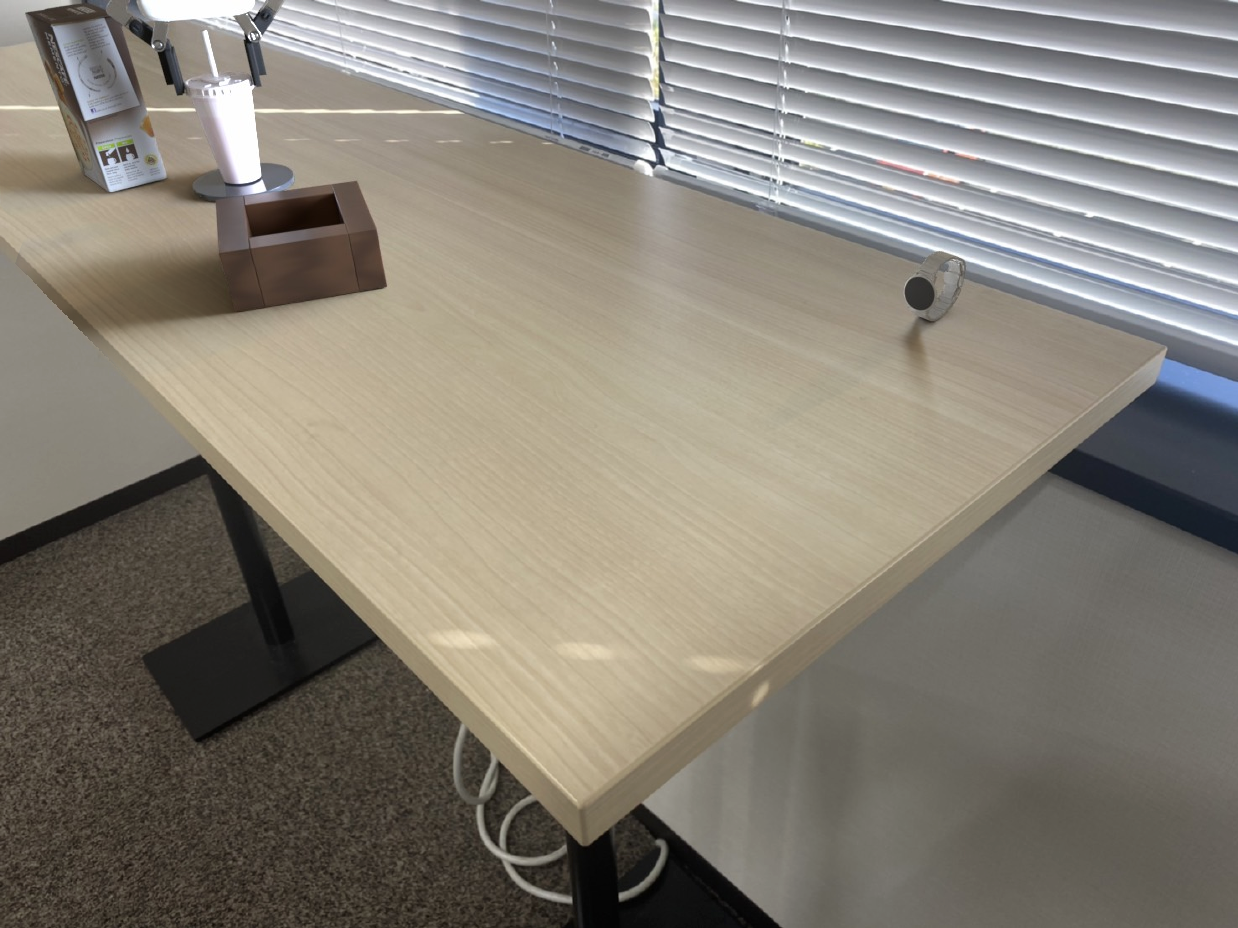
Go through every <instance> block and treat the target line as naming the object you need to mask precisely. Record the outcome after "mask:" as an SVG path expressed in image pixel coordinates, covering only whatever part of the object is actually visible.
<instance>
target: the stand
mask: <svg viewBox="0 0 1238 928" xmlns="http://www.w3.org/2000/svg"><path fill="white" fill-rule="evenodd" d="M369 208H370V207H369V206H368V203H367V201H366V198H365V196H364V194H363V191H362V189H361V186H360V183H359V181H358V180H351V181H344V182H337V183H332V184H330V183H329V184H323V185H316V186H307V187H302V188H293V189H286V190H284V191H278V192H270V193H263V194H256V195H248V196H244V197H243V196H242V197H235V198H227V199H220V200H216V202H215V215H216V230H217V231H216V232H217V247H218V256H219V260H220V263H221V267H222V271H223V274H224V278H225V282H226V285H227V289H228V292H229V296H230V299H231V302H232V307H233V310H234V312H235V313H239V312H244V311H251V310H257V309H263V308H270V307H277V306H281V305H287V304H294V303H301V302H305V301H306V302H307V301H311V300H318V299H325V298H330V297H336V296H341V295H348V294H353V293H359V292H365V291H371V290H376V289H383V288H388V282H387V276H386V270H385V265H384V260H383V254H382V249H381V242H380V237H379V231H378V228H377V226H376V223H375V220H374V218H373V216H372V214H371V211H370V209H369Z"/></svg>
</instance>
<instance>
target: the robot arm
mask: <svg viewBox="0 0 1238 928" xmlns="http://www.w3.org/2000/svg"><path fill="white" fill-rule="evenodd" d="M131 1H132V0H109V1H108V3H107V5H106V7H105V10H106V12H107V14H108V15H109V16H111V17H112V18H113V19H115V20H116V21H117V22H119V23H120V24H121V26H123V27H125V28H126V29H127V30H128V31H130V33H131V34H133V35H134V36H135V37H137V38H138V39H140V40H142V41H143V42H144V43H146V44H147V45H148V46H150V47H151V48H152V49H153V50H154V51H155V52H157V56H158V59H159V63H160V66H161V70H162V73H163V77H164V81H165V83H166V86H174V90H175V94H176V96H183V95H184V94H186V93H185V92H186V91H185V87H184V82H185V81H184V78H183V74H182V71H181V67H180V64H179V60H178V56H177V52H176V49H175V46H174V45H173V46H172V43H171V40H170V39H169V38H168V35H169V30H170V29H169V28H170V23H171V22H173V21H188V20H198V19H209V18H219V17H220V18H221V17H230V16H232V17H233V18H234V20H235V21H236V22H237V24H238V25H239V27H240V28H241V29H242V32H243V35H244V39H243V44H244V49H245V54H246V57H247V61H248V62H247V63H248V66H249V71H250V75H251V77H252V82H253V84H254V87H255V88H261V87H263V85H262V81H261V77H260V76H267V69H266V66H265V62H264V56H263V52H262V47H261V43H260V42H261V40H262V37H263V36H264V34H265V32H266V31H267V30H268V29H269V27H270V25H271V24H272V23H273V22H274V19H275V17H276V15H277V14H278V12H279V10H280V9H281V7H282V6H283V5H284V3H285V1H286V0H265V1H264V3H263V4H262V6H261V7H260V9H259V10H258V11H257V13H256V14H255V15H254V17H253V16H252V15H251V14H250V11H251V10H252V9H253V8H254V6H255V3H256V0H135V2H136V5H137V7H138V10H139V12H140V13H141V15H142V16H143V17H144V18H146V19H148V20H150V21H154V23H153V27H152V26H151V25H150V24H148V23H147V22H145V21H144V20H142V19H141V18H139V17H138V16H136V15H135V14H133V12H131V11H130V10H129V8H128V6H129V4H130V2H131Z"/></svg>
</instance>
